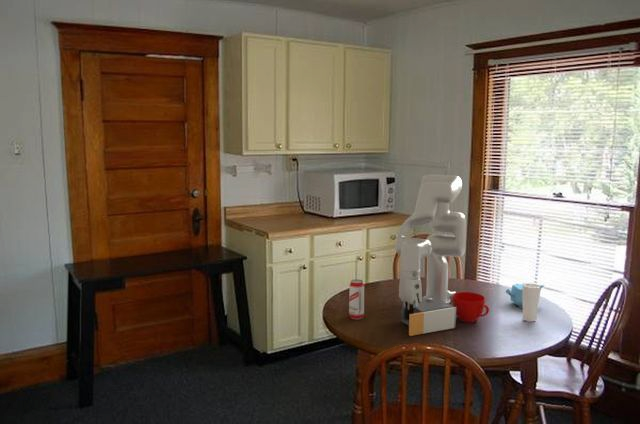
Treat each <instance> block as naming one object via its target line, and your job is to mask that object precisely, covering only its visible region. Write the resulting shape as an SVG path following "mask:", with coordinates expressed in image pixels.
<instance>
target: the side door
mask: <svg viewBox="0 0 640 424" xmlns="http://www.w3.org/2000/svg"><path fill="white" fill-rule="evenodd" d="M456 322H457V315H456V307H451V308H445V309H439V310H433V311H427V312H421V313H415V314H409V326H408V335H409V336H410V337H413V336H418V335H423V334H428V333H434V332H439V331H445V330H450V329H456V326H457V325H456Z"/></svg>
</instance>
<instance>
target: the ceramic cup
mask: <svg viewBox="0 0 640 424" xmlns="http://www.w3.org/2000/svg"><path fill="white" fill-rule="evenodd" d="M485 302H486V297H485V296H484V295H483V294H479V293H476V292H469V291H460V292H456V293H455V294H454V295H453V296H452V306H453V307H456V317H458V319H459V320H460V321H462V322H464V323H474V322H476V321H477V320H478V319H479V318H480V317H485V316H487V315H488V314H489V312H490V308H489V306H488V305H487V304H485ZM484 308H485V313H484V314H483V311H484Z"/></svg>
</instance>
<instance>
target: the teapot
mask: <svg viewBox="0 0 640 424" xmlns="http://www.w3.org/2000/svg"><path fill="white" fill-rule="evenodd" d="M523 284H526V282H523V283H520V284H519V283H515V284H512V285H511V290H510V289H508V288H507V289H506V290H505V293H506V294H508V296H510V301H511V302H512V303H513V304H514V305H517V306H518V308H521V309H523V296H522V293H523ZM539 286H540V292H541V290H542V288H543V287H544V286H545V284H541V285H539Z"/></svg>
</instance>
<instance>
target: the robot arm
mask: <svg viewBox="0 0 640 424" xmlns="http://www.w3.org/2000/svg"><path fill="white" fill-rule="evenodd" d="M462 187H463V182H462V179H461V177H460V176H458V175H452V174H451V175H449V174H425V175H423V176H422V177H421V185H420V187H419V190H418V194H417V199H416V204H415V207H414V211H413V213H412V214H411V215H410V216H409V217H408V218H406V219H405V220H404V222H403V223H402V224H401V226H399V230H398V232H397V236H396V241H395V244H394V245H395V247H394V248H395V252H396V253H397V255H400V278H399V283H398V284H399V285H398V296H399V299H400V300H401V302H403V303H404V308H405V316H404V318H405V319H407V320H408V319H409V314H414V309H415V308H417V307H418V303H421V302H422V298H424V297H431V296H433V297H435V298H437V299H439V300H441V301H443V302H446V303H448V304H450V303H451V297H453V295H454V294H455V293H457V292H456V291H450V290H449V289H448V286H449V262H448V261H447V259H446V257H453V258H461V257H462V256H464V255H465V252H466V244H467V243H466V242H467V241H466V240H467V238H466V237H467V219H466V217H465V214H464V213H462V212H459V211H450V203H453V202H454V201H455V199H456V198H457V197H458V196H459V195H460V193H461V191H462V189H463V188H462ZM428 223H429V227H430V229H431V231H434V232H437V233H433V234H430V235H428V236H427V238H417V237H409V236H408V234H409V233H410V232H411V231H412V230H414V229H415V228H416V227H417V228H418V227H420V226H422V225H426V224H428ZM442 233H446V234H442ZM447 233H449V234H447ZM452 234H453V235H452ZM425 258H426V260H427V261H426V262H427V263H426V291H425V292H426V294H425V295H424V296H423V289H422V287H423V286H422V280H421V259H425Z"/></svg>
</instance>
